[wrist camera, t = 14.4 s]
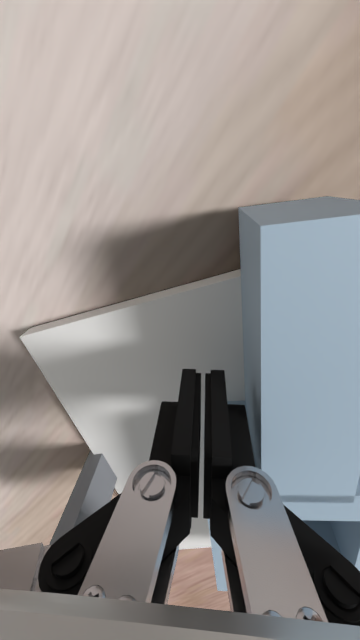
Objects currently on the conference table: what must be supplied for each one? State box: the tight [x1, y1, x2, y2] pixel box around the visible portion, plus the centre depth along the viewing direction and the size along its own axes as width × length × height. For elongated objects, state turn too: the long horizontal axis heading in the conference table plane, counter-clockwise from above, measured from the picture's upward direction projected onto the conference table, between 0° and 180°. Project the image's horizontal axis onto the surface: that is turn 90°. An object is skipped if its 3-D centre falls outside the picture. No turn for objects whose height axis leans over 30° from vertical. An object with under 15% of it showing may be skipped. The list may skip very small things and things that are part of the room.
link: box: [208, 196, 360, 591], centre depth 13 cm, size 21×7×5 cm, turn 7°
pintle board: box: [20, 269, 245, 549], centre depth 13 cm, size 20×20×8 cm
